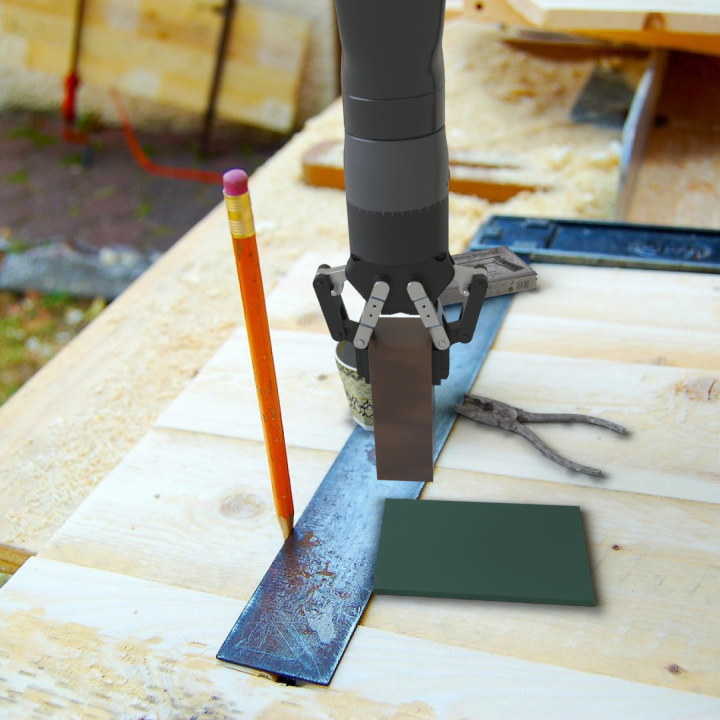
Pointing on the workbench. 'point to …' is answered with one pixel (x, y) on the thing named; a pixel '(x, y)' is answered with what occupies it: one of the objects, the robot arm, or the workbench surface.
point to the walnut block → (402, 399)
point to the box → (493, 273)
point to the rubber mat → (483, 552)
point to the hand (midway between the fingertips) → (404, 378)
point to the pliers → (511, 415)
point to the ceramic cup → (354, 385)
